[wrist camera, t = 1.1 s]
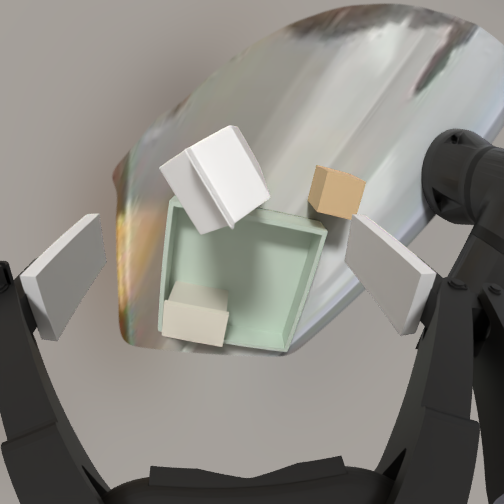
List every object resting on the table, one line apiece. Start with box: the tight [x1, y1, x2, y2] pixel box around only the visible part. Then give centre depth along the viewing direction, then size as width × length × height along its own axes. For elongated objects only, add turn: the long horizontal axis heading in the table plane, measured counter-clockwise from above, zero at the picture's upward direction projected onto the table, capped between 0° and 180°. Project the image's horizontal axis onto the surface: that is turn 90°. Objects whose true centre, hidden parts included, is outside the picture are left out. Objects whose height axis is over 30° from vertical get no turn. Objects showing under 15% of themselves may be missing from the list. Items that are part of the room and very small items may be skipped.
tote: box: [158, 195, 328, 352], centre depth 43 cm, size 20×20×4 cm
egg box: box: [162, 281, 229, 347], centre depth 43 cm, size 9×6×7 cm, turn 78°
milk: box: [159, 125, 271, 235], centre depth 28 cm, size 6×6×22 cm
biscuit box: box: [308, 165, 366, 220], centre depth 38 cm, size 5×5×6 cm
